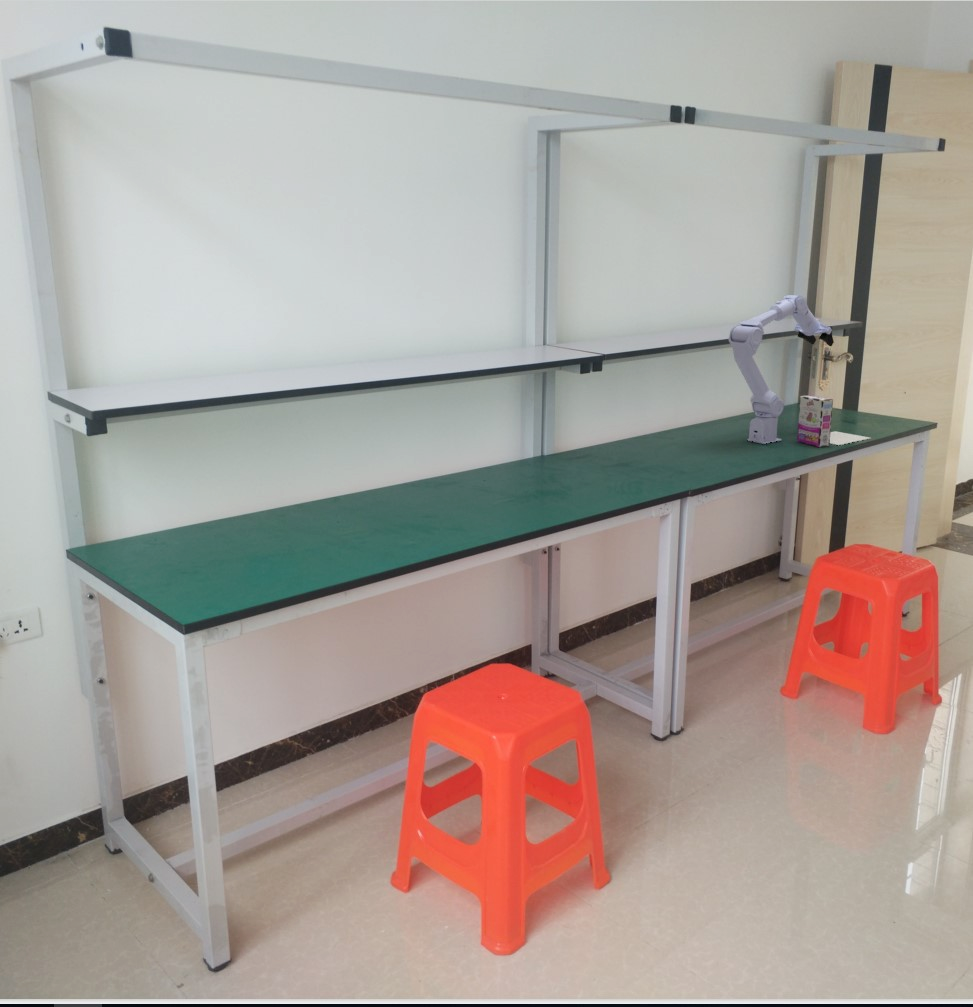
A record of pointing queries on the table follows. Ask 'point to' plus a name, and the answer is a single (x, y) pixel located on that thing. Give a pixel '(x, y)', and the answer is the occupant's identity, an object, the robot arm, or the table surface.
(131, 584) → the table surface
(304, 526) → the table surface
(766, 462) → the table surface
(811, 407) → the candy bar box
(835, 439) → the mat
